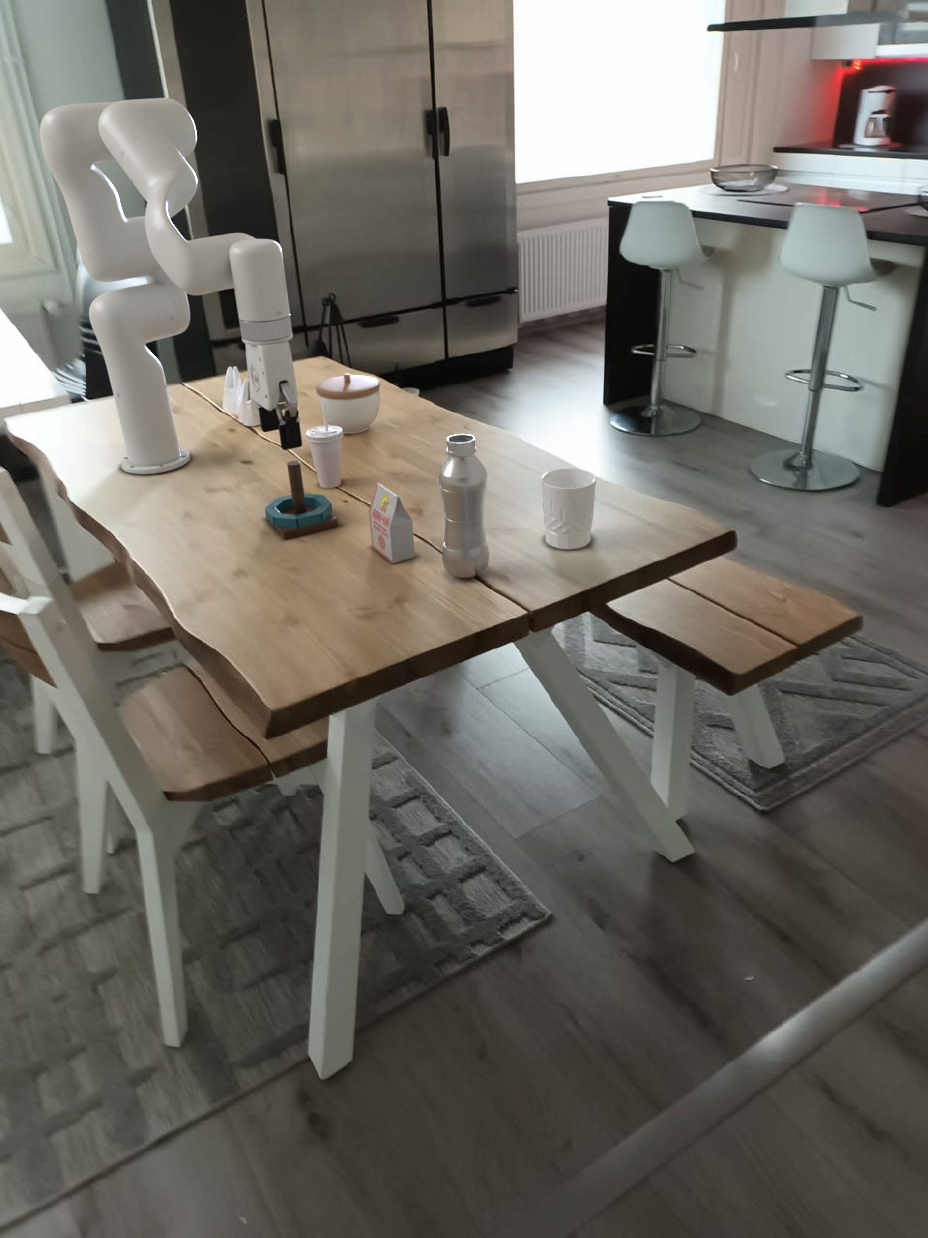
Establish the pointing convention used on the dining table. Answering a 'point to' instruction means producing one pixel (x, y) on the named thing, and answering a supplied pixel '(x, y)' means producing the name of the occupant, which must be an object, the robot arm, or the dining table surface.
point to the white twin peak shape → (240, 399)
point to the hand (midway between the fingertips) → (281, 438)
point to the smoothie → (326, 452)
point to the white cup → (568, 507)
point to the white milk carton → (390, 526)
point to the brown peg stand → (300, 506)
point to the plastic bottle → (464, 508)
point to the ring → (299, 520)
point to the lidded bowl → (350, 401)
